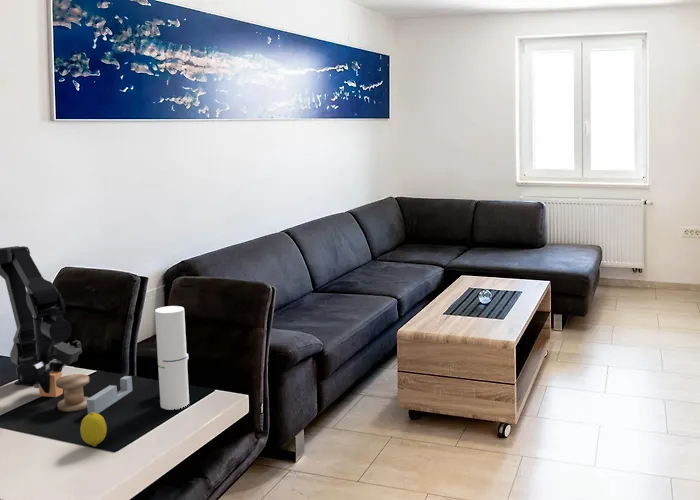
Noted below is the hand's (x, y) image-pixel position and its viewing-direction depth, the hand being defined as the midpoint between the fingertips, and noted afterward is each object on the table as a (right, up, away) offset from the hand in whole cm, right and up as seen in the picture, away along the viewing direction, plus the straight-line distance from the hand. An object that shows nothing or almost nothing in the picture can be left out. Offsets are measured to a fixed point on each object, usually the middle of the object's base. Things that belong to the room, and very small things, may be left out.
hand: (51, 390), depth 199 cm
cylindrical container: (+35, -2, -8) cm, 36 cm away
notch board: (+18, -2, -6) cm, 19 cm away
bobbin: (+9, -2, -8) cm, 13 cm away
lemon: (+23, -6, -33) cm, 40 cm away
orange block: (-1, -1, 0) cm, 2 cm away
